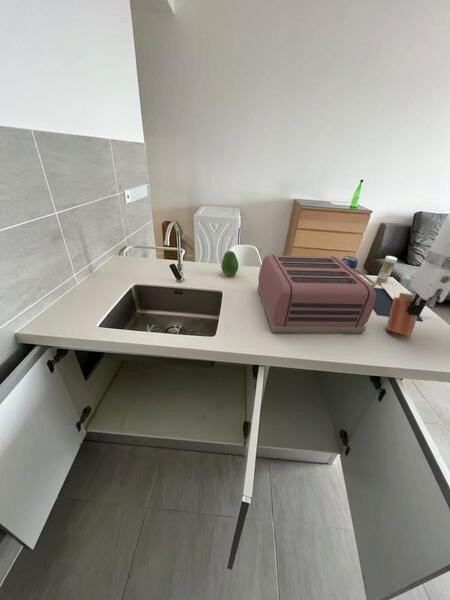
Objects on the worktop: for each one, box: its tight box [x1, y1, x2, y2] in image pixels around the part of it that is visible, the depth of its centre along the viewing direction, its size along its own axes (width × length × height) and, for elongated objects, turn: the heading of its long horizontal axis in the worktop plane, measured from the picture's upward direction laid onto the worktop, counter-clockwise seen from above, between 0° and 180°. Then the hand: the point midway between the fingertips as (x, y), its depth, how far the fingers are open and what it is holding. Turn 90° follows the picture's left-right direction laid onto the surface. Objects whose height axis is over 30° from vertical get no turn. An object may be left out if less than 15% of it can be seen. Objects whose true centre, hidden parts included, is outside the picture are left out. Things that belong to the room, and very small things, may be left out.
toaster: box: [257, 254, 377, 334], centre depth 90 cm, size 30×36×17 cm
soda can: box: [340, 255, 359, 269], centre depth 114 cm, size 7×7×12 cm
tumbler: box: [385, 296, 417, 336], centre depth 82 cm, size 7×7×11 cm
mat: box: [373, 287, 424, 322], centre depth 102 cm, size 16×24×1 cm, turn 169°
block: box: [398, 292, 413, 301], centre depth 81 cm, size 3×3×3 cm
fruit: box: [220, 250, 239, 277], centre depth 113 cm, size 8×8×12 cm
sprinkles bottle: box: [375, 255, 398, 286], centre depth 113 cm, size 5×5×13 cm
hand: (412, 313), depth 77 cm, fingers closed
